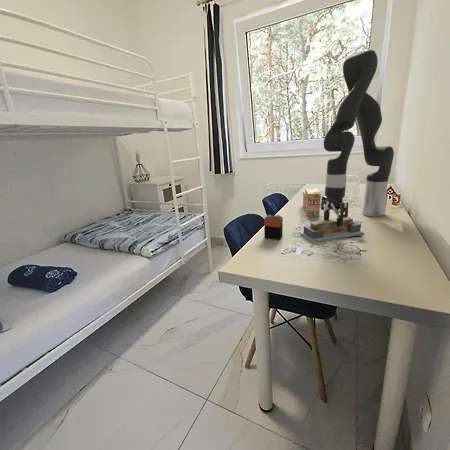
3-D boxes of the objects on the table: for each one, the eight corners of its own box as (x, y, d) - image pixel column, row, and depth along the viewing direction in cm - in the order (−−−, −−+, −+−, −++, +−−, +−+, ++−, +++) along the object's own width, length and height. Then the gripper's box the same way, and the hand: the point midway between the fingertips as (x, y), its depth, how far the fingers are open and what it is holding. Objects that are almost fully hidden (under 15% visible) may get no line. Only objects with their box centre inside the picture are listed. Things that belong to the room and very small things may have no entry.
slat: (347, 227, 110) (348, 217, 109) (351, 230, 108) (353, 218, 106) (310, 233, 107) (310, 222, 105) (314, 236, 104) (314, 224, 102)
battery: (279, 240, 105) (280, 217, 101) (264, 238, 108) (263, 216, 104) (282, 236, 108) (282, 214, 105) (267, 234, 111) (267, 213, 108)
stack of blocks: (302, 205, 153) (303, 185, 149) (313, 205, 152) (314, 185, 148) (307, 216, 133) (308, 193, 129) (319, 216, 132) (321, 193, 128)
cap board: (348, 227, 114) (349, 218, 112) (363, 233, 105) (364, 224, 104) (300, 234, 109) (300, 225, 108) (311, 242, 101) (312, 232, 99)
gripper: (316, 183, 106) (314, 219, 112) (338, 189, 93) (335, 230, 98) (332, 181, 108) (330, 217, 113) (356, 187, 95) (352, 227, 100)
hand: (332, 223), depth 106 cm, fingers open, 8 cm apart
